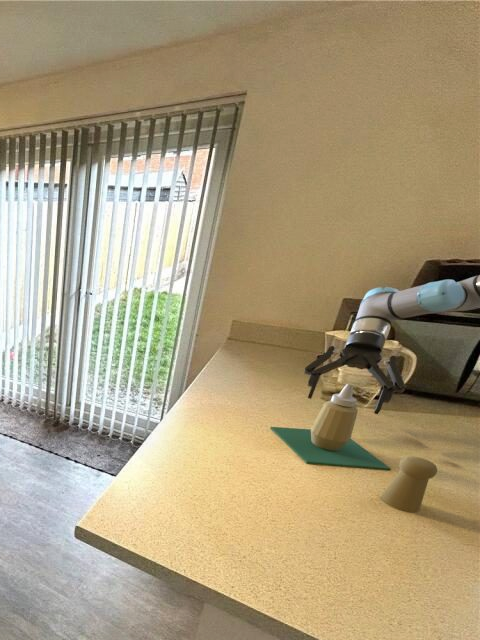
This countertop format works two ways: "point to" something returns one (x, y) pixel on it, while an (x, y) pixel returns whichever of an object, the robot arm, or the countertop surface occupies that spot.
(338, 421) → the squeeze bottle
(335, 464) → the mat
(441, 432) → the countertop surface
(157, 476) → the countertop surface
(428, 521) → the countertop surface
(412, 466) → the cork
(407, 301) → the robot arm
